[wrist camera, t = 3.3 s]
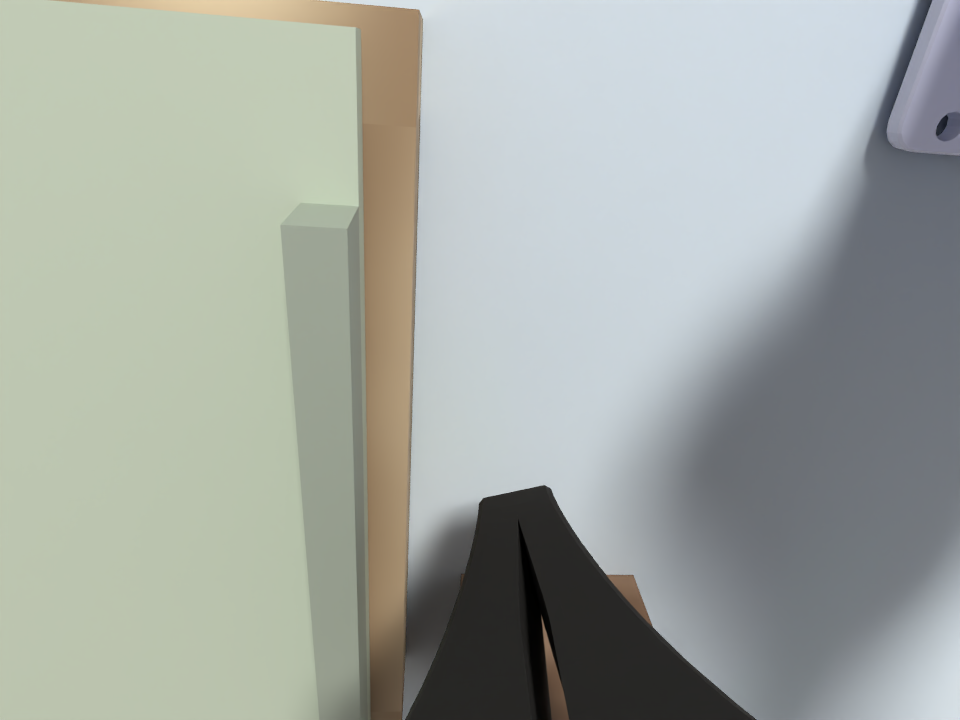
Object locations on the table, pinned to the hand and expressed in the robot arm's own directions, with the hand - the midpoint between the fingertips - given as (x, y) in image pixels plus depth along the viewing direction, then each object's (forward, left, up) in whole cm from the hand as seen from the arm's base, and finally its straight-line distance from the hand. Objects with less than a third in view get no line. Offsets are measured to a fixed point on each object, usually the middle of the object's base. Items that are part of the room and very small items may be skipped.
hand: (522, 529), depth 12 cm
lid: (+8, 0, 0) cm, 8 cm away
